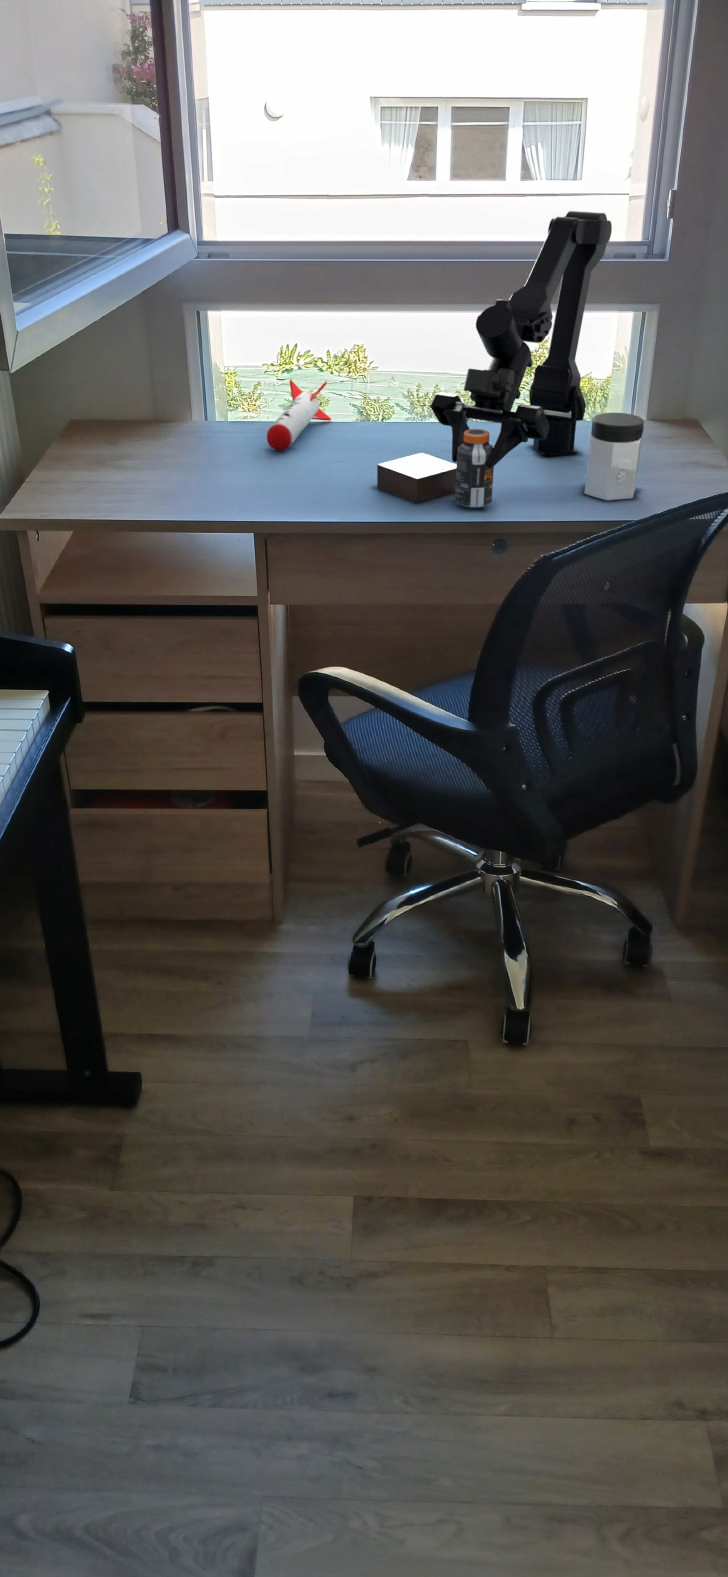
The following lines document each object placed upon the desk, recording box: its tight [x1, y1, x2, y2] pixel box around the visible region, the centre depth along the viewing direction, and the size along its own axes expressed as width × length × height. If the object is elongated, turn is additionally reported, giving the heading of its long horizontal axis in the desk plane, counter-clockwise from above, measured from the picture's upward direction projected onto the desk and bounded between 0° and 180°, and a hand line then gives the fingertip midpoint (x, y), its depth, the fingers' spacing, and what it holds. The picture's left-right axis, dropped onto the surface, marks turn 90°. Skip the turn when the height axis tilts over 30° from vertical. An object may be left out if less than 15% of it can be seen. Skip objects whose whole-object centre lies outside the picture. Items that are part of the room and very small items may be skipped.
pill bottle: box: [454, 428, 495, 508], centre depth 182 cm, size 6×6×11 cm
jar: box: [584, 412, 645, 502], centre depth 187 cm, size 9×8×12 cm
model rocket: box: [266, 379, 332, 452], centre depth 217 cm, size 11×23×10 cm
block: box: [376, 452, 457, 504], centre depth 192 cm, size 10×10×4 cm
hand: (471, 463), depth 181 cm, fingers closed on pill bottle, 6 cm apart
